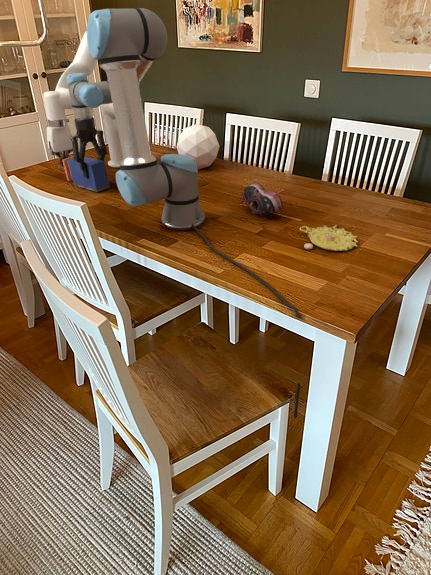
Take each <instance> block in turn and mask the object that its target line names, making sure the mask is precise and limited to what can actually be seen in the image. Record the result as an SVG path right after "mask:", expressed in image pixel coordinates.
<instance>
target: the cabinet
mask: <svg viewBox="0 0 431 575" xmlns="http://www.w3.org/2000/svg"><path fill="white" fill-rule="evenodd" d="M84 162H86V165H87V171H88V176H89V178H88V179H87V178H85V177H84V175H83V171H82V170H81V169H80V164H79V163H78V162H76V161H74V158H71V159H68V163H69V167H70V171H71V175H72V179H73V180H72V183H73V186H75V187H79V188H82V189H85V190H89V191H93V192H95V193H98V192H102V191H104V190H107V189H110V188H111V185H110V181H109V176H108V172H107V166H106V162H105V160H104V161H102V160H98V159H97V158H94V157H93V158H92V157H88V156H85V157H84Z"/></svg>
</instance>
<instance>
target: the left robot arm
mask: <svg viewBox="0 0 431 575" xmlns="http://www.w3.org/2000/svg"><path fill="white" fill-rule="evenodd" d="M97 63H98V60H96V59H94V58H93V57H92V56H91V54H90V51H89V48H88V43H87V30H86V31H85V32H84V33H83V36H82V38H81V41H80V43H79V46H78V48H77V51H76V54H75V55H74V58H73V61H72V62H71V63H70V64H69V66H67V67H66V69H65V70H64V72H63V73H62V74H61V75H60V78H59V79H58V82H57V83H56V86H55V88H54V89H55V90H48V91H44V92H43V94H42V97H43V103H44V109H45V113H46V119H47V120H46V121H47V125H48V126H47V127H46V141H47V147H48V150H49V151H50V155H51V156H56V157H57V158H58V159H59V163H60V165H62V167H64V165H63V161H62V160H63V159H66V158H69V157H70V155H71V153H73V146H72V141H71V139H70V137H71V136H73V135H72V132H71V128H70V126H69V125H68V123H69V122H70V119H69V118H67V115H66V110H72V104H71V100H70V95H69V90H68V86H67V75H69V74H73V73H84V74H86V75H87V77H89V76H91V75H92V74H93V72H94V70H95V68H96V65H97ZM99 107H100V112H101V114H102V118H103V120H104V127H105V132H106V139H107V146H108V152H109V157H110V160H108V161H107V165H108V167H111V168H120V162H121V161H122V159H123V154H122V149H121V144H120V139H119V134H118V128H117V123H116V118H115V113H114V108H113V103H110V104H102V105H100V106H99Z"/></svg>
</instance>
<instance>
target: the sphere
mask: <svg viewBox="0 0 431 575" xmlns="http://www.w3.org/2000/svg"><path fill="white" fill-rule="evenodd" d="M220 147H221V146H220V144H219V141H218V139H217V136H216V133H215V132H214V131H213V130H212V128H210V127H209V126H206V125H202V124H198V123H197V124H196V123H195V124H194V125H190V126H187V127H185V128H184V129H183V131H182V132H181V133H180V134H179V135H178V139H177V143H176V148H175V149H176V150H177V154H180V155H186V156H190V157H192V158H194V159H195V160H196V163H197V170H201V169H204V168H207V167H210V166H211V165H213V162H215V160H216V159H217V157H218V153H219V150H220Z"/></svg>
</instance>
